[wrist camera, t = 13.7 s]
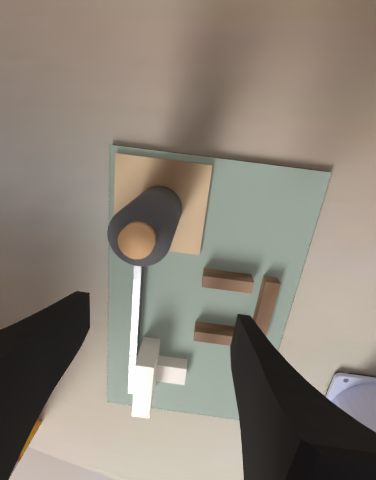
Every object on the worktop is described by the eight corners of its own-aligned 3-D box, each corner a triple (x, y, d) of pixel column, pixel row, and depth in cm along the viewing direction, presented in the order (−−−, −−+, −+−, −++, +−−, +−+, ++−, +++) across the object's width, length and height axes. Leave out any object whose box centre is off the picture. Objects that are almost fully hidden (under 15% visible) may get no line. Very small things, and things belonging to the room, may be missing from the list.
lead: (183, 187, 19) (170, 212, 12) (181, 231, 20) (168, 276, 14) (137, 184, 19) (99, 206, 12) (137, 227, 20) (103, 270, 14)
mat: (329, 172, 19) (331, 172, 19) (255, 418, 28) (256, 422, 28) (111, 144, 19) (110, 144, 19) (108, 398, 28) (107, 402, 28)
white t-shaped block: (189, 342, 25) (187, 372, 21) (183, 389, 27) (180, 422, 23) (143, 336, 25) (134, 365, 21) (140, 383, 27) (131, 416, 24)
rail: (145, 240, 21) (142, 245, 20) (136, 385, 27) (133, 393, 26) (138, 239, 21) (135, 243, 20) (130, 384, 27) (127, 393, 26)
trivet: (212, 164, 19) (212, 165, 19) (199, 253, 21) (199, 255, 21) (116, 152, 19) (114, 153, 19) (115, 242, 21) (113, 243, 21)
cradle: (277, 277, 22) (282, 286, 20) (261, 339, 24) (264, 350, 23) (203, 268, 22) (203, 276, 20) (194, 330, 24) (193, 341, 23)
